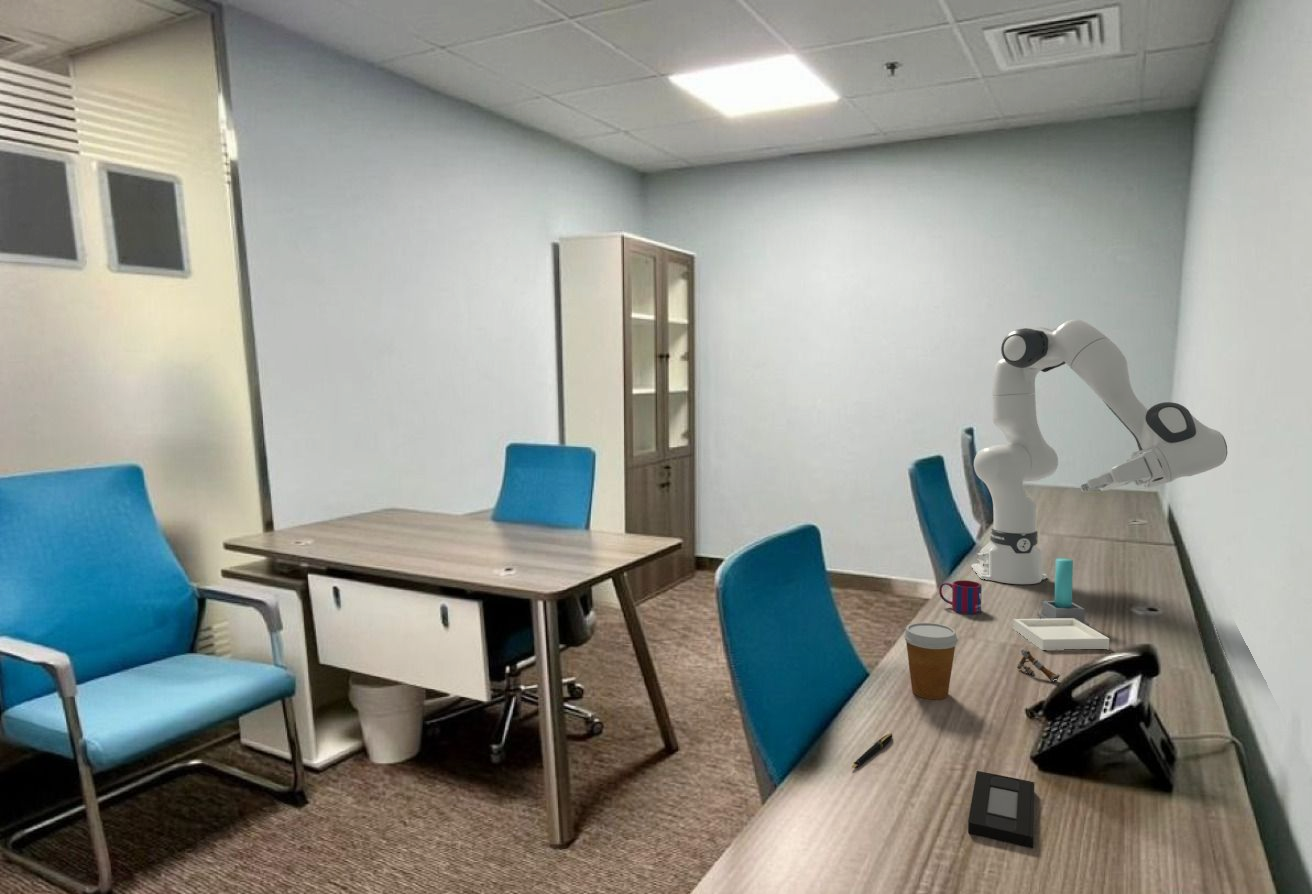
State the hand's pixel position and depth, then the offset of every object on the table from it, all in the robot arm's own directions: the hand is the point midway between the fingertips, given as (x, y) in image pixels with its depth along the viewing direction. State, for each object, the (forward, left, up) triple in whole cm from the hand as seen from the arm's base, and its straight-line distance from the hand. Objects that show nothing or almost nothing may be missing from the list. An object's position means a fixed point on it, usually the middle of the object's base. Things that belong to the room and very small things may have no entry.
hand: (1084, 486), depth 181 cm
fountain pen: (+67, -68, -32) cm, 101 cm away
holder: (+4, -6, -32) cm, 32 cm away
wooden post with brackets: (+37, -28, -32) cm, 57 cm away
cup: (-7, -26, -32) cm, 42 cm away
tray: (+16, -13, -32) cm, 38 cm away
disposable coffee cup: (+44, -51, -32) cm, 75 cm away
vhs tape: (+83, -55, -32) cm, 105 cm away
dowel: (+4, -6, -31) cm, 32 cm away
